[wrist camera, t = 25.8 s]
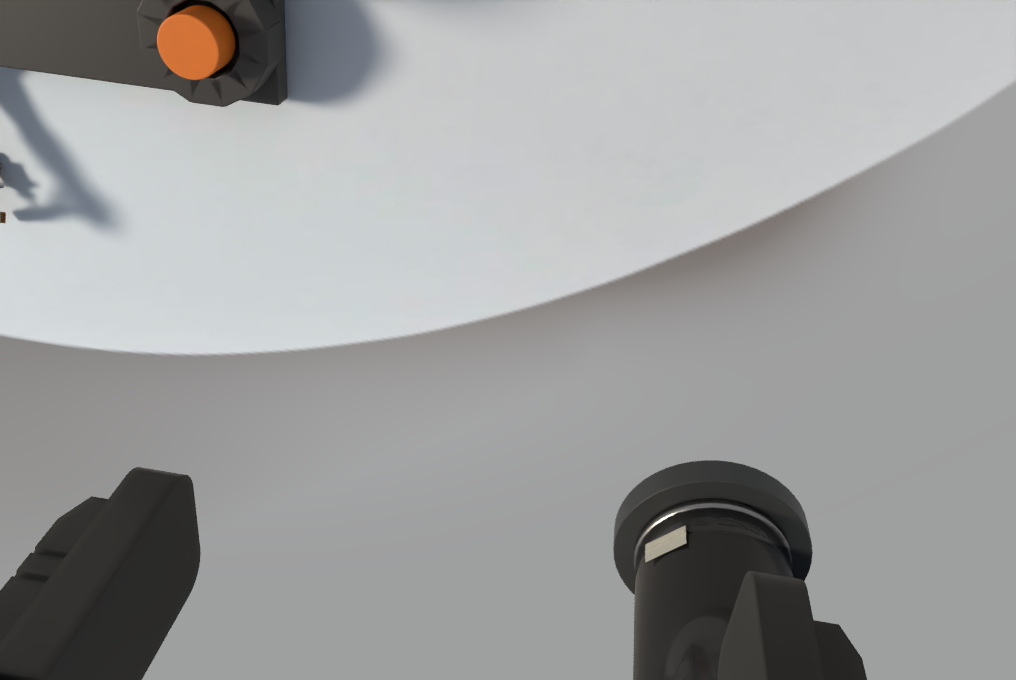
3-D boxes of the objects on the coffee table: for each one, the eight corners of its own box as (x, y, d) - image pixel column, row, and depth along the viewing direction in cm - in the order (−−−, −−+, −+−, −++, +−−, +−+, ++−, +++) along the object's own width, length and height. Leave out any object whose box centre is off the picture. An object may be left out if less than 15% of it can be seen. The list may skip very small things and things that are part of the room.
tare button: (238, 73, 38) (221, 84, 37) (178, 64, 39) (159, 76, 37) (234, 9, 37) (217, 18, 36) (172, 0, 37) (152, 9, 36)
